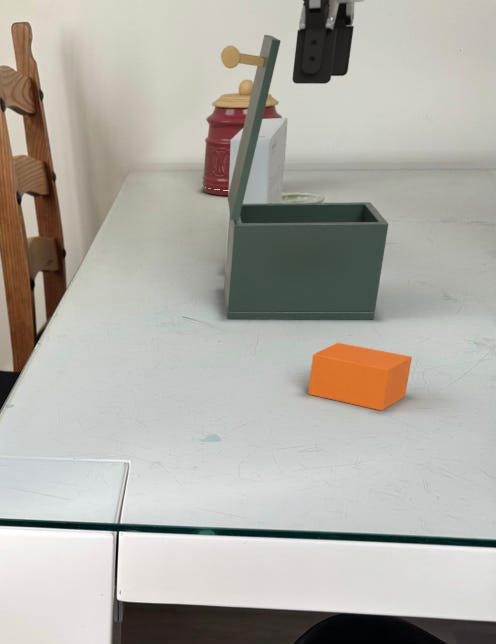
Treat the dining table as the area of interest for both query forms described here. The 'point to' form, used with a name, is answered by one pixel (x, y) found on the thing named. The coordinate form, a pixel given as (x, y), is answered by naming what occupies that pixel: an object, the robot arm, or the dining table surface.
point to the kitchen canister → (228, 134)
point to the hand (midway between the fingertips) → (320, 79)
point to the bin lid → (250, 114)
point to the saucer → (301, 198)
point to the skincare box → (263, 164)
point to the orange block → (359, 375)
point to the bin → (304, 261)
